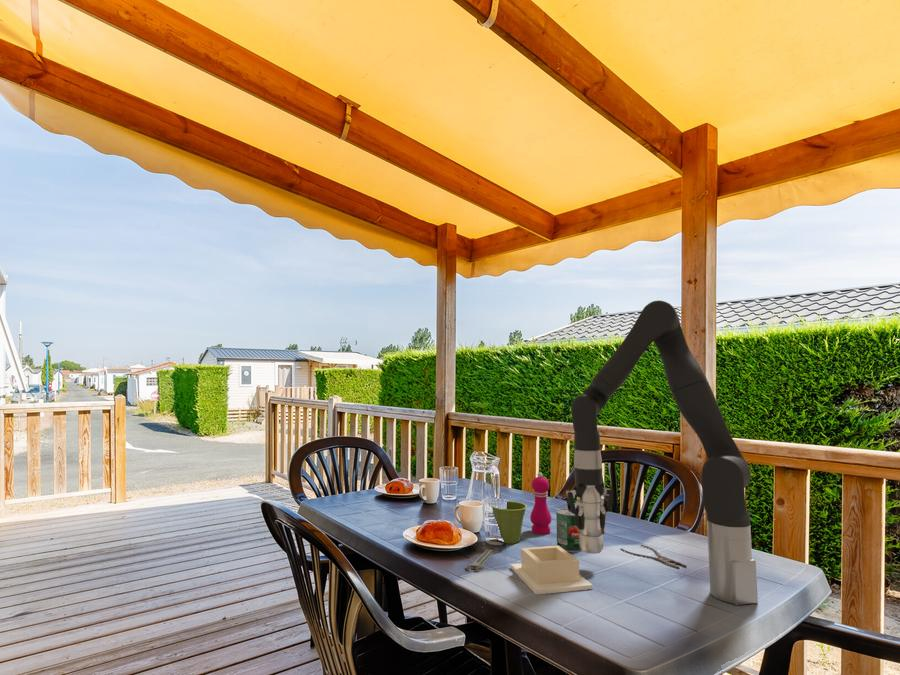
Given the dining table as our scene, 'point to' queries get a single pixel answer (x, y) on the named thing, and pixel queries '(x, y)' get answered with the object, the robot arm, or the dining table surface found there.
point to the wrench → (482, 559)
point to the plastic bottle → (591, 521)
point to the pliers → (660, 558)
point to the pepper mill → (540, 506)
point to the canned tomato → (567, 531)
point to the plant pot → (510, 521)
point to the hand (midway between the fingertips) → (590, 528)
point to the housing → (550, 570)
